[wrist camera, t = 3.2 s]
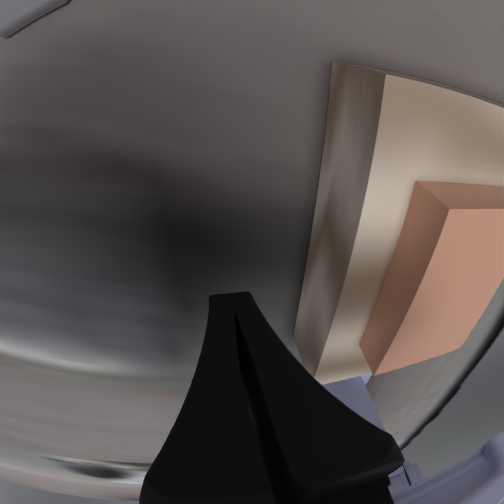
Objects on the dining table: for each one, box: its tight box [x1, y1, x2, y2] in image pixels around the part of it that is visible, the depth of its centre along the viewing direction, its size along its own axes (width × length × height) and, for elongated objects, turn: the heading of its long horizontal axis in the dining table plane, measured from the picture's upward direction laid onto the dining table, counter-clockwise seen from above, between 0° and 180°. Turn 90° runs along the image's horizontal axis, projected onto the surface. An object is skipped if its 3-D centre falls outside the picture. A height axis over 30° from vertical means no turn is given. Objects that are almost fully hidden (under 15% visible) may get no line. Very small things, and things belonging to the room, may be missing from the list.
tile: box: [359, 181, 504, 376], centre depth 13 cm, size 9×6×2 cm, turn 178°
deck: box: [293, 61, 504, 385], centre depth 15 cm, size 16×12×4 cm
